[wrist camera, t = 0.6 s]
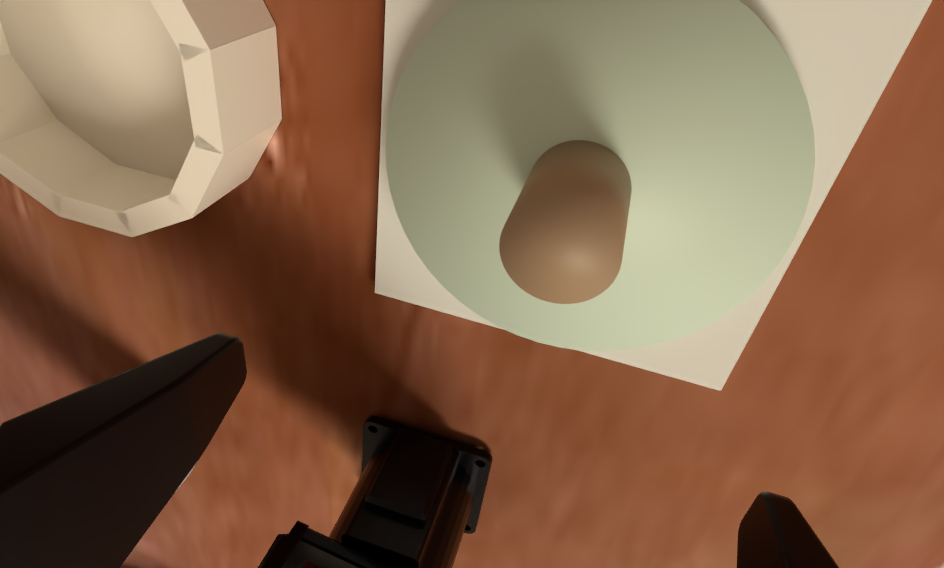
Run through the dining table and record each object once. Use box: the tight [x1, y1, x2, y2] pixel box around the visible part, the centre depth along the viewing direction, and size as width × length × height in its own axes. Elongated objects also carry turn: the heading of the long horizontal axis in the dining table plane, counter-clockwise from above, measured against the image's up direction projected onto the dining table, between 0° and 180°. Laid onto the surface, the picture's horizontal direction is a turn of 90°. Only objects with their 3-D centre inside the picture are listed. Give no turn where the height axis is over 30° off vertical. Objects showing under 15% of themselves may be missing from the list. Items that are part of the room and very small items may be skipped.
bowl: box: [0, 0, 282, 237], centre depth 20 cm, size 12×12×4 cm
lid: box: [386, 0, 815, 351], centre depth 17 cm, size 13×13×5 cm
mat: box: [375, 0, 932, 391], centre depth 19 cm, size 14×14×1 cm
